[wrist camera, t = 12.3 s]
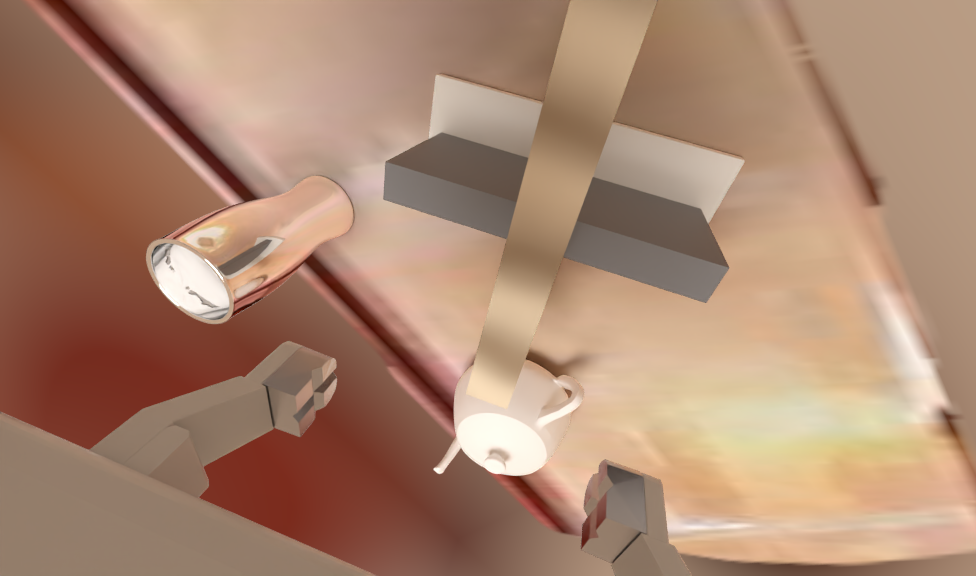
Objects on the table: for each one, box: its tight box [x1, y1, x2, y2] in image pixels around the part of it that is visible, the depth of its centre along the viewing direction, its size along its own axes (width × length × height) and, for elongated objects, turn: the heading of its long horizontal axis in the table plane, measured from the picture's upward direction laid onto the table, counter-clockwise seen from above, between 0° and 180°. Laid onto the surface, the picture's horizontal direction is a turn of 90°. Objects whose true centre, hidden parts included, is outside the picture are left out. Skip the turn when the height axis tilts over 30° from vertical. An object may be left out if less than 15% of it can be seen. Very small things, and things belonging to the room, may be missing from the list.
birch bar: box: [466, 0, 658, 409], centre depth 22 cm, size 24×3×3 cm, turn 168°
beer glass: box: [146, 176, 354, 324], centre depth 32 cm, size 7×7×15 cm
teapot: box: [434, 359, 584, 476], centre depth 40 cm, size 20×12×10 cm, turn 135°
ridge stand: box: [384, 74, 745, 303], centre depth 27 cm, size 10×22×10 cm, turn 78°
